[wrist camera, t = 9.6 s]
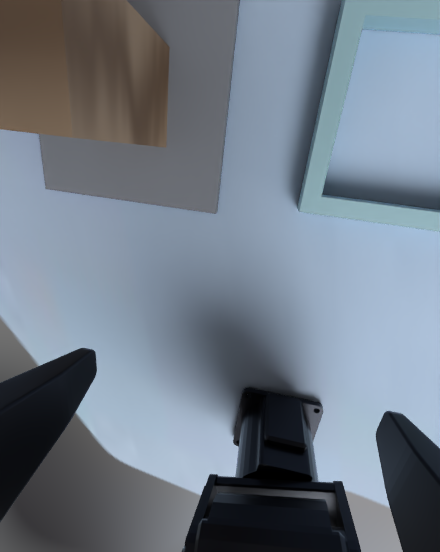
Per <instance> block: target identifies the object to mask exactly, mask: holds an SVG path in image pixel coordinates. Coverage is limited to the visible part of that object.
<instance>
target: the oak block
mask: <svg viewBox="0 0 440 552" xmlns="http://www.w3.org/2000/svg"><path fill="white" fill-rule="evenodd" d="M169 49H170V47H169V46H168V45H167V44H166V43H165V42H164V40H163V39H162V38H161V37H160V36H159V35H158V34H157V33H156V32H155V31H154V30H153V28H152V27H151V26H150V25H149V24H148V23H147V22H146V21H145V20H144V19H143V18H142V17H141V15H140V14H139V13H138V12H137V11H136V10H135V9H134V8H133V7H132V6H131V5H130V3H129V2H128V1H127V0H0V129H4V130H12V131H20V132H29V133H37V134H46V135H54V136H62V137H71V138H80V139H89V140H99V141H108V142H118V143H127V144H137V145H146V146H156V147H165V148H166V142H167V111H168V80H169Z"/></svg>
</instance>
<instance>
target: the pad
mask: <svg viewBox="0 0 440 552" xmlns="http://www.w3.org/2000/svg"><path fill="white" fill-rule="evenodd" d="M127 1H128V2H129V3H130V5H131V6H132V7H133V8H134V9H135V10H136V11H137V12H138V13H139V14H140V15H141V17H142V18H143V19H144V20H145V21H146V22H147V23H148V24H149V25H150V26H151V27H152V28H153V30H154V31H155V32H156V33H157V34H158V35H159V36H160V37H161V38H162V39H163V40H164V42H165V43H166V44H167V45H168V46H169V47H170V49H169V80H168V111H167V142H166V148H165V147H156V146H146V145H137V144H127V143H118V142H108V141H99V140H89V139H80V138H71V137H62V136H54V135H46V134H39V137H40V145H41V154H42V162H43V170H44V178H45V186H46V189H50V190H57V191H63V192H70V193H77V194H84V195H91V196H98V197H105V198H111V199H118V200H125V201H132V202H139V203H146V204H153V205H159V206H166V207H173V208H180V209H187V210H194V211H201V212H207V213H214V214H216V213H217V208H218V199H219V190H220V180H221V171H222V161H223V152H224V143H225V133H226V124H227V115H228V105H229V96H230V87H231V77H232V68H233V59H234V49H235V40H236V31H237V21H238V12H239V3H240V0H127Z"/></svg>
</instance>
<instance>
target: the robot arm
mask: <svg viewBox="0 0 440 552" xmlns="http://www.w3.org/2000/svg"><path fill="white" fill-rule="evenodd" d="M96 372H97V366H96V354H95V351H94V350H92V349H87V348H80V349H78V350H75V351H73V352H71V353H68V354H66V355H64V356H61V357H59V358H57V359H54V360H52V361H50V362H47V363H45V364H43V365H41V366H38V367H36V368H34V369H31V370H29V371H27V372H24V373H22V374H20V375H18V376H15V377H13V378H10V379H8V380H6V381H3V382H1V383H0V522H1V520H2V519H3V517H4V516H5V515H6V513H7V512H8V510H9V509H10V508H11V506H12V504H13V503H14V502H15V500H16V499H17V497H18V496H19V495H20V493H21V492H22V490H23V489H24V487H25V486H26V484H27V483H28V482H29V480H30V479H31V477H32V476H33V474H34V473H35V471H36V470H37V469H38V467H39V466H40V464H41V463H42V461H43V460H44V459H45V457H46V456H47V454H48V453H49V451H50V450H51V448H52V447H53V445H54V444H55V443H56V441H57V440H58V438H59V437H60V435H61V434H62V432H63V431H64V430H65V428H66V427H67V425H68V423H69V422H70V421H71V419H72V417H73V416H74V414H75V412H76V410H77V409H78V407H79V405H80V403H81V401H82V400H83V398H84V396H85V394H86V392H87V391H88V389H89V387H90V385H91V384H92V382H93V380H94V378H95V376H96ZM247 394H250V395H247ZM315 408H318V409H315ZM322 414H323V407H322V405H321V404H320V403H318V402H314V401H309V400H305V399H300V398H295V397H290V396H286V395H281V394H276V393H271V392H267V391H262V390H257V389H253V388H245V389H243V391H242V396H241V402H240V407H239V412H238V418H237V423H236V428H235V434H234V440H233V443H234V444H235V445H236V446H239V451H238V459H237V468H236V477H223V476H218V475H215V474H210V475H209V478H208V481H207V483H206V486H204V489H203V492H202V495H201V497H200V500H199V504H198V506H197V509H196V512H195V514H194V517H193V520H192V523H191V526H190V528H189V531H188V534H187V537H186V541H185V546H184V548H183V549H182V552H361V549H360V545H359V541H358V537H357V534H356V530H355V526H354V523H353V519H352V515H351V512H350V508H349V505H348V501H347V497H346V494H345V490H344V486H343V483H342V481H333V483H331V482H318V476H317V469H316V462H315V454H314V447H313V440H314V437H315V434H316V431H317V428H318V425H319V423H320V420H321V417H322ZM376 441H377V446H378V452H379V457H380V462H381V468H382V473H383V478H384V484H385V489H386V493H387V498H388V501H389V505H390V509H391V512H392V516H393V519H394V523H395V526H396V529H397V532H398V536H399V539H400V543H401V547H402V550H403V552H440V448H439V447H438V446H437V445H435V444H434V443H433V442H432V441H431V440H430V439H429V438H428V437H427V436H426V435H425V434H424V433H423V432H421V431H420V430H419V429H418V428H417V427H416V426H415V425H414V424H413V423H412V422H411V421H410V420H409V419H407V418H406V417H405V416H404V415H403V414H401V413H397V412H392V411H386V412H385V413H384V415H383V417H382V419H381V422H380V424H379V426H378V428H377V431H376Z"/></svg>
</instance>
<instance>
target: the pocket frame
mask: <svg viewBox="0 0 440 552" xmlns="http://www.w3.org/2000/svg"><path fill="white" fill-rule="evenodd" d="M362 29H366V30H381V31H395V32H410V33H424V34H439V35H440V0H342V2H341V6H340V11H339V16H338V20H337V25H336V30H335V34H334V39H333V44H332V48H331V53H330V58H329V62H328V67H327V72H326V76H325V81H324V86H323V90H322V95H321V100H320V104H319V109H318V114H317V118H316V123H315V128H314V132H313V137H312V141H311V146H310V151H309V155H308V160H307V165H306V169H305V174H304V179H303V183H302V188H301V193H300V197H299V202H298V207H297V209H298V211H299V212H302V213H309V214H316V215H323V216H330V217H338V218H345V219H352V220H359V221H366V222H373V223H380V224H387V225H394V226H402V227H409V228H416V229H423V230H430V231H437V232H440V210H436V209H428V208H421V207H413V206H406V205H398V204H391V203H383V202H376V201H368V200H361V199H353V198H345V197H338V196H330V195H323V194H322V192H323V187H324V183H325V179H326V175H327V171H328V167H329V163H330V159H331V155H332V151H333V146H334V142H335V138H336V134H337V130H338V126H339V122H340V118H341V114H342V110H343V105H344V101H345V97H346V93H347V89H348V85H349V81H350V77H351V73H352V68H353V64H354V60H355V56H356V52H357V48H358V44H359V40H360V36H361V32H362Z"/></svg>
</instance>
